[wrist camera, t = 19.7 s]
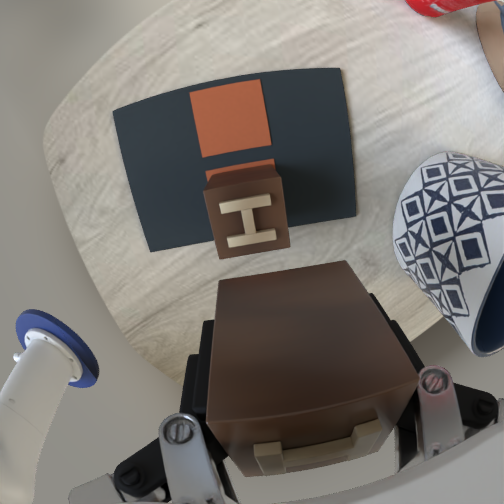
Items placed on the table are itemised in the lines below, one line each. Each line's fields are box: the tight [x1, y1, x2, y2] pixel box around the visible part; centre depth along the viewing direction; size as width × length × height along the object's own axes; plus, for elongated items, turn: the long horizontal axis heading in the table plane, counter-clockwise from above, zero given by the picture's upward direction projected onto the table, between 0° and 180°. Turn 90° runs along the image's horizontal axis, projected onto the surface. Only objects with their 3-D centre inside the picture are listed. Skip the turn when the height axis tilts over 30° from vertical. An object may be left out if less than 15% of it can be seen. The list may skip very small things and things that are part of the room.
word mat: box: [113, 68, 356, 252], centre depth 22 cm, size 20×14×1 cm
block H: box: [203, 164, 290, 259], centre depth 20 cm, size 5×5×6 cm
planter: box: [393, 152, 504, 357], centre depth 19 cm, size 16×16×14 cm
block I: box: [206, 260, 420, 477], centre depth 8 cm, size 5×5×6 cm
